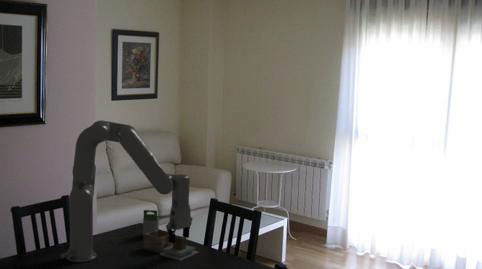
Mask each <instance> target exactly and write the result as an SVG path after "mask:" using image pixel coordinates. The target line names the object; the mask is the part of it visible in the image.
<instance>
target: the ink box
mask: <svg viewBox="0 0 482 269" xmlns="http://www.w3.org/2000/svg"><path fill="white" fill-rule="evenodd" d="M150 213H151V214H150ZM152 213H153V214H152ZM142 221H143V222H142V223H143V225H142V226H143V227H142V236H143V237H144V234H146V233H149V232H152V231H155V230H158V229H159V230H160V228H159V227H160V216H159V215H158V210H151V209H144V210H143V219H142Z"/></svg>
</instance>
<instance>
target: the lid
mask: <svg viewBox="0 0 482 269" xmlns="http://www.w3.org/2000/svg"><path fill="white" fill-rule="evenodd" d="M163 251H164V252H167V253H168V254H171V255H175V256H179V257H182V256H184V255H186V254H189V253H191V252H192V251H196V247H194V246H191V245H187V238H185V237H183V236H182V235H181V236H180V235H175V243H173V245H172V246H169V247H166V248H164V249H163Z"/></svg>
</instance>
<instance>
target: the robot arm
mask: <svg viewBox="0 0 482 269" xmlns="http://www.w3.org/2000/svg"><path fill="white" fill-rule="evenodd" d="M105 141H108V142H113V143H114V142H116V143H119V145H120V146H121V147H122V148H123V150H124V151H125V152H126V153H127V155H128V156H129V157H130V158H131V160H132V161H133V162H134V164H135V165H136V166H137V167H138V169H139V170H140V171H141V173H143V175H144V176H145V177H146V179H147V180H148V181H149V183H150V184H151V185H152V187H153V188H154V189H155V190H156V191H157V193H159V194H161V195H168V194H170V193H171V207H170V211H169V222H168V223H167V224H166V225H165V228H166V231H168V233H169V242H171V243H175V236H176V231H177V230H182V237H185V238H186V239H189V238H190V229H191V225H192V223H193V222H192V221H193V219H194V218H193V217H192V216H191V205H190V183H191V181H190V180H191V179H190V176H189V175H187V174H179V173H178V174H171V173H166V172H165V171H164V169H163V168H162V166H161V165H160V164H159V162H158V160H157V158H156V157H155V155H154V153H153V152H152V150H151V149H150V147H148V145H147V144H146V142H145V141H144V140H143V139H142V137H141V136H140V135H139V133H138V132H137V131H136V128H134V127H133V126H132V125H131V124H130V125H129V124H126V123H125V124H124V123H118V122H113V121H108V120H107V121H106V120H96V121H95V122H93V123H92V124H91V125H90V126H88V127H86V128H84V129H83V131H81V132H80V134H79V135H78V137H77V139H76V142H75V150H74V157H73V158H74V160H73V167H72V169H71V170H72V172H71V173H72V187H71V191H70V194H69V197H68V199H69V200H68V206H69V207H68V208H69V248H68V249H67V251H66V252H63V253H61V254H60V258H61V259H66V260H67V261H69V262H72V263H85V262H86V263H87V262H90V261H93V260H95V259H96V258H97V256H98V255H97V253H96V252H95V251H94V247H93V246H94V244H93V243H94V239H93V238H94V235H93V234H94V218H93V217H94V213H93V212H94V210H93V208H94V207H93V206H94V205H93V204H94V194H95V184H96V183H95V182H96V171H97V167H96V166H97V165H96V163H95V162H96V155H97V154H96V153H97V152H96V151H97V147H98V146H99V144H101V143H103V142H105Z"/></svg>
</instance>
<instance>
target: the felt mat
mask: <svg viewBox="0 0 482 269" xmlns="http://www.w3.org/2000/svg"><path fill="white" fill-rule="evenodd" d="M199 253H200V251H197V250H195V251H192V252H191V253H189V254H186V255H184V256H182V257H179V256H175V255H171V254H168V253H167V252H163V253H161V254H160V253H159V256H163V257H167V258H168V259H169V258H170V259H172V260H176V261H180V262H181V261H184V260H186V259H188V258H191V257H192V256H195V255H197V254H199Z"/></svg>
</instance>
